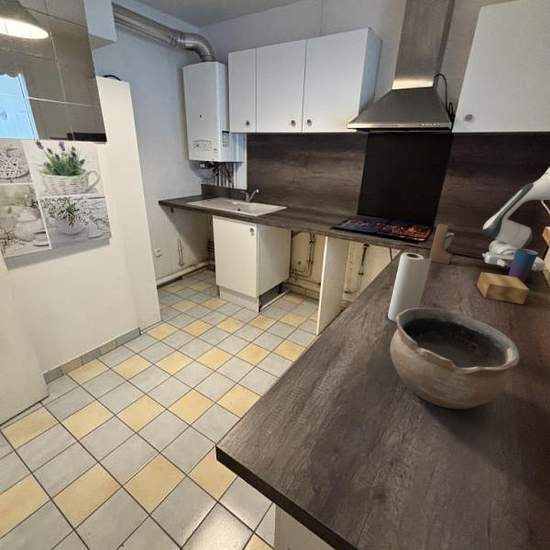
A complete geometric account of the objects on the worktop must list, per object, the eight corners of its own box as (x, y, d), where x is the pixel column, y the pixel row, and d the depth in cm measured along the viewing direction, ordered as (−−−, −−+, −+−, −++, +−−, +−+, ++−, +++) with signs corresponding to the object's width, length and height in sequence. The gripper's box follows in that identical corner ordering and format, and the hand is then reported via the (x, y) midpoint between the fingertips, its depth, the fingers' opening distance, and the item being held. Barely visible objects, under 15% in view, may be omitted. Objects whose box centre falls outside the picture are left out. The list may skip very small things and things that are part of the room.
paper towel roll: (383, 317, 92) (397, 254, 84) (393, 311, 96) (407, 250, 88) (405, 327, 87) (422, 261, 79) (415, 321, 91) (431, 257, 83)
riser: (511, 291, 114) (517, 277, 112) (523, 304, 104) (529, 289, 102) (476, 285, 118) (481, 272, 116) (484, 298, 108) (489, 283, 105)
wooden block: (449, 262, 142) (460, 226, 135) (448, 265, 139) (459, 228, 132) (430, 258, 147) (439, 223, 140) (428, 260, 144) (437, 225, 137)
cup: (522, 285, 120) (536, 250, 114) (525, 291, 115) (540, 255, 109) (502, 281, 123) (515, 247, 117) (504, 286, 118) (517, 251, 112)
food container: (437, 248, 164) (442, 230, 160) (449, 251, 159) (454, 233, 155) (427, 252, 156) (432, 234, 152) (439, 255, 152) (444, 236, 148)
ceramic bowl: (371, 395, 63) (383, 337, 57) (395, 345, 79) (406, 296, 73) (495, 451, 52) (527, 387, 46) (492, 379, 68) (515, 325, 62)
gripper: (483, 246, 131) (491, 256, 119) (538, 253, 124) (553, 263, 112) (478, 259, 133) (487, 270, 121) (533, 267, 127) (547, 278, 115)
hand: (519, 267), depth 117 cm, fingers open, 8 cm apart
